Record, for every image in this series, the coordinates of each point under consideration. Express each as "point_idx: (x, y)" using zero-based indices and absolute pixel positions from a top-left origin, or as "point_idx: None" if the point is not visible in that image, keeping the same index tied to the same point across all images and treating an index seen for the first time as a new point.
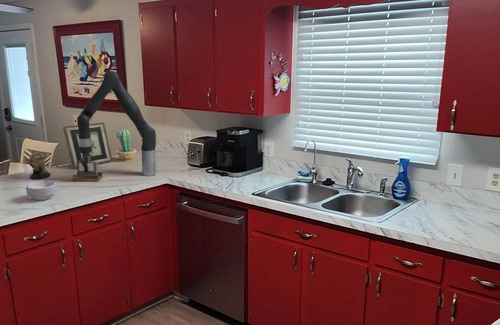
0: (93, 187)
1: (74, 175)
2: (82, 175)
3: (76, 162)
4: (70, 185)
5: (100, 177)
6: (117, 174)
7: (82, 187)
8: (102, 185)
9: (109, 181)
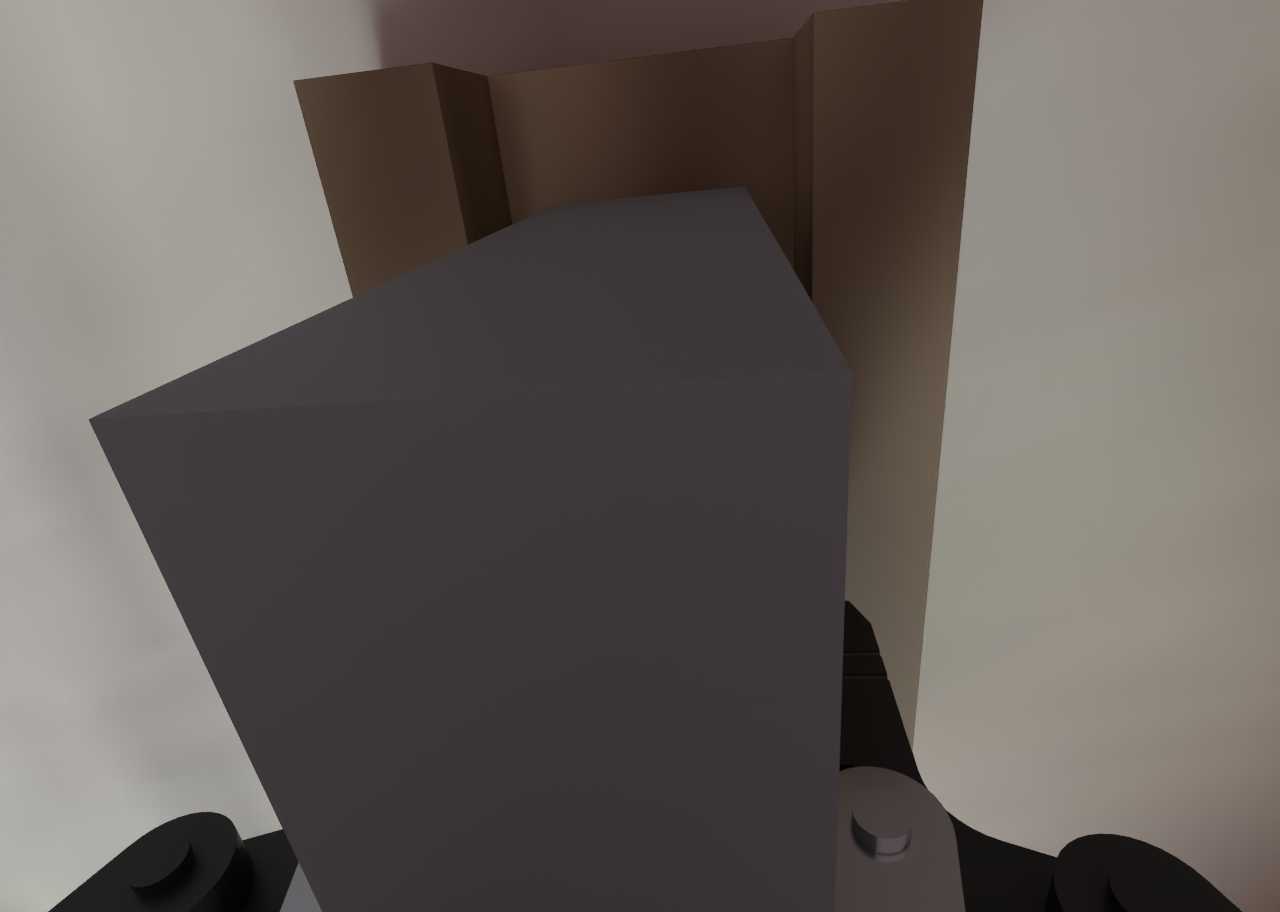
0: (144, 744)
1: (324, 177)
2: None
3: (96, 418)
4: (41, 233)
5: None
6: None
7: (50, 574)
8: None
9: None
